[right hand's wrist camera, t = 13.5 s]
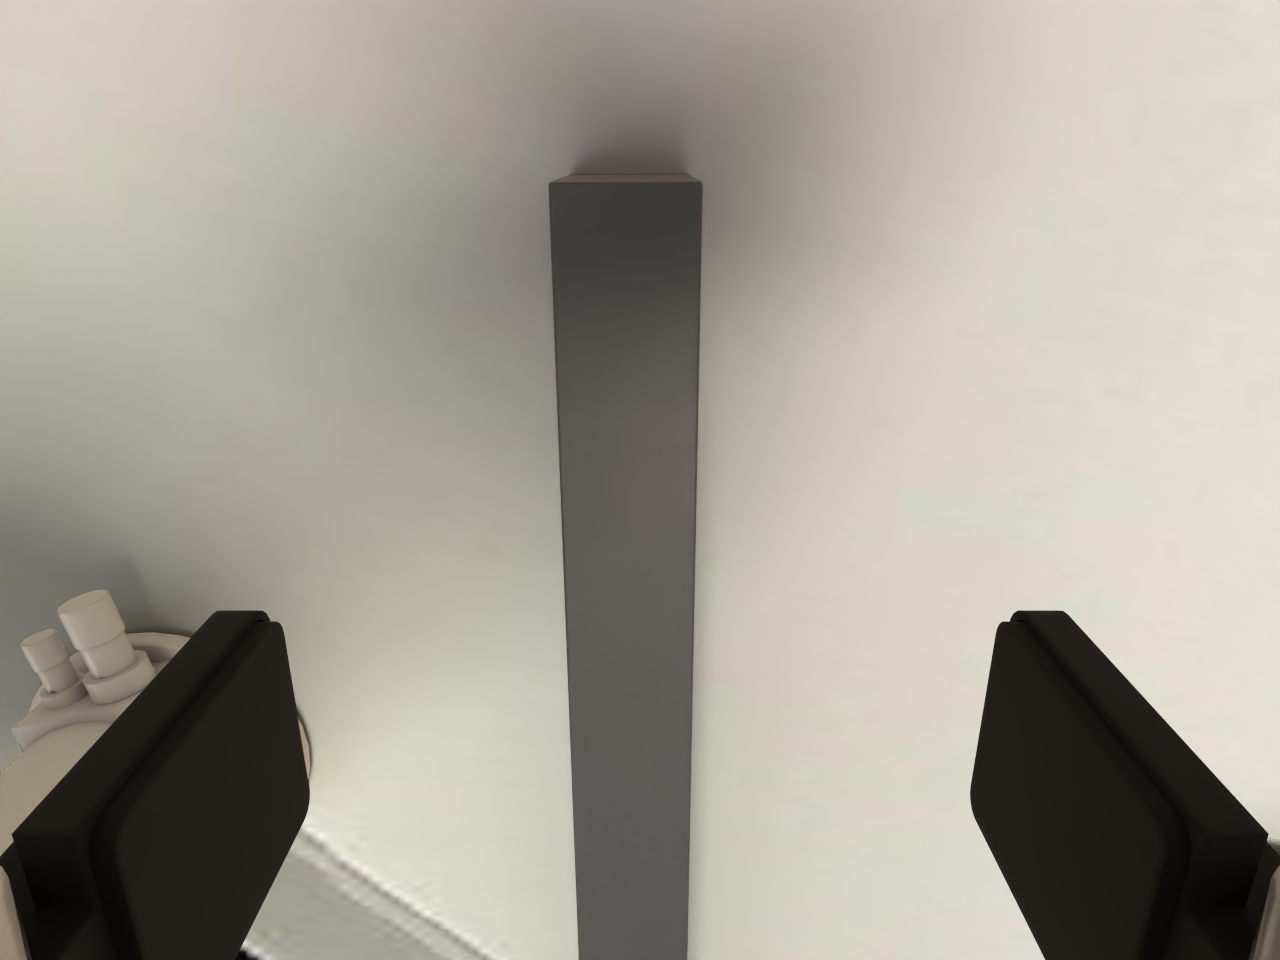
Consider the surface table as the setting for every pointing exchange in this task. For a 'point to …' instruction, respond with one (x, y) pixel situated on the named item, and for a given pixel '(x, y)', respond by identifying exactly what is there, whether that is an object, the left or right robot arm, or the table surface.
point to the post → (629, 544)
